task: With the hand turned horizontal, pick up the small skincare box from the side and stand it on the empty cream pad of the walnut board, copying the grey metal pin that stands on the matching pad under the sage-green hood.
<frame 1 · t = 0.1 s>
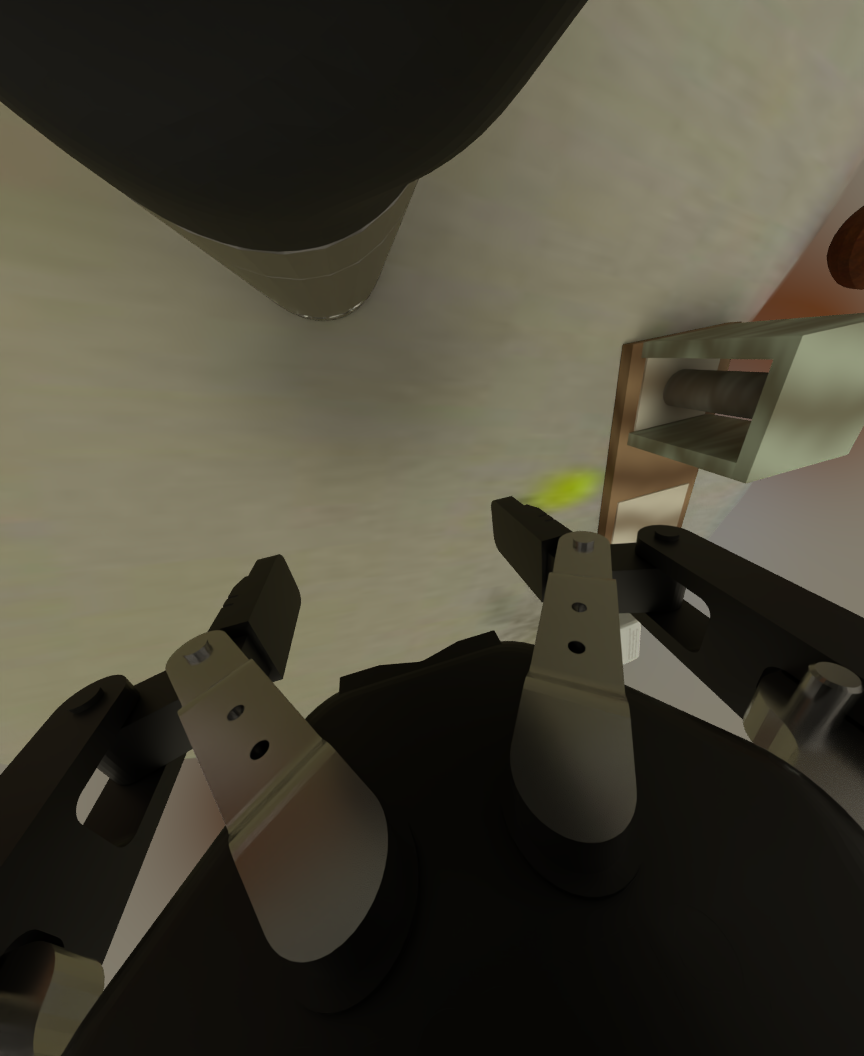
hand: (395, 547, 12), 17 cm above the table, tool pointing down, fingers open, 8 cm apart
potato: (841, 249, 28), on the table
board: (648, 468, 35), on the table
skincare box: (550, 570, 39), on the table
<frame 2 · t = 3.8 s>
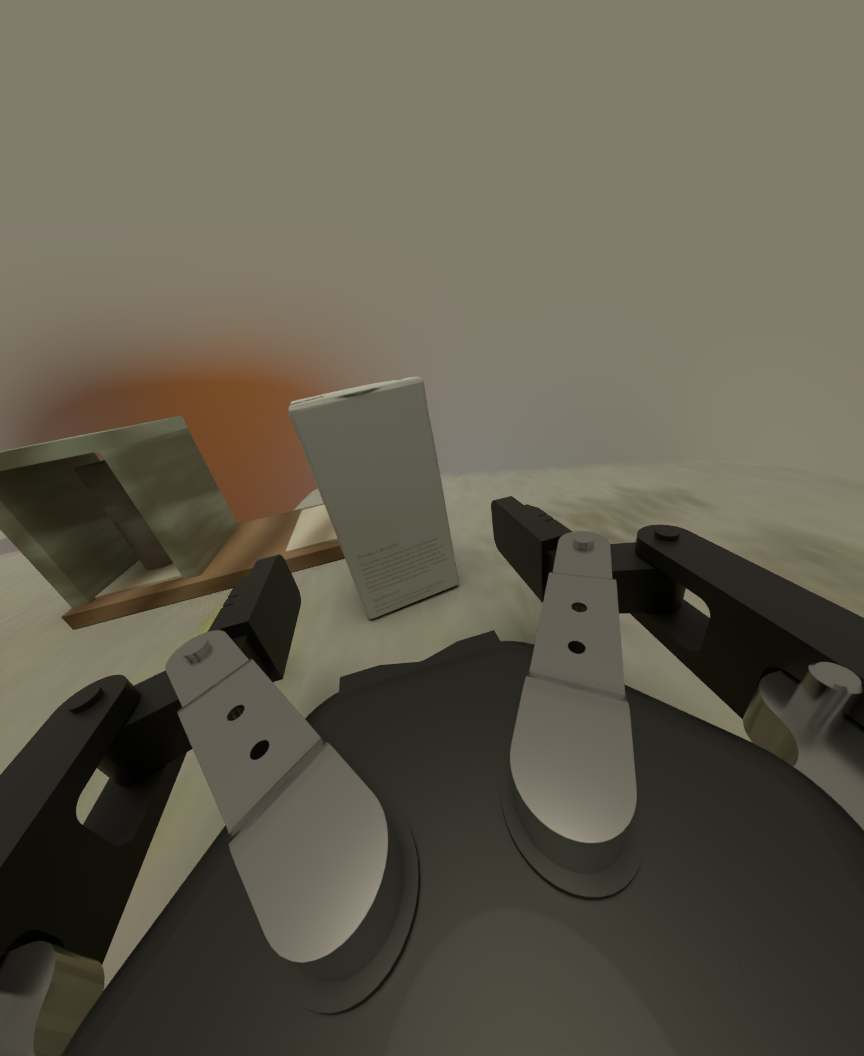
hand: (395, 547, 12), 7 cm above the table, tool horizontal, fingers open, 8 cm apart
board: (273, 547, 29), on the table
skincare box: (406, 590, 20), on the table
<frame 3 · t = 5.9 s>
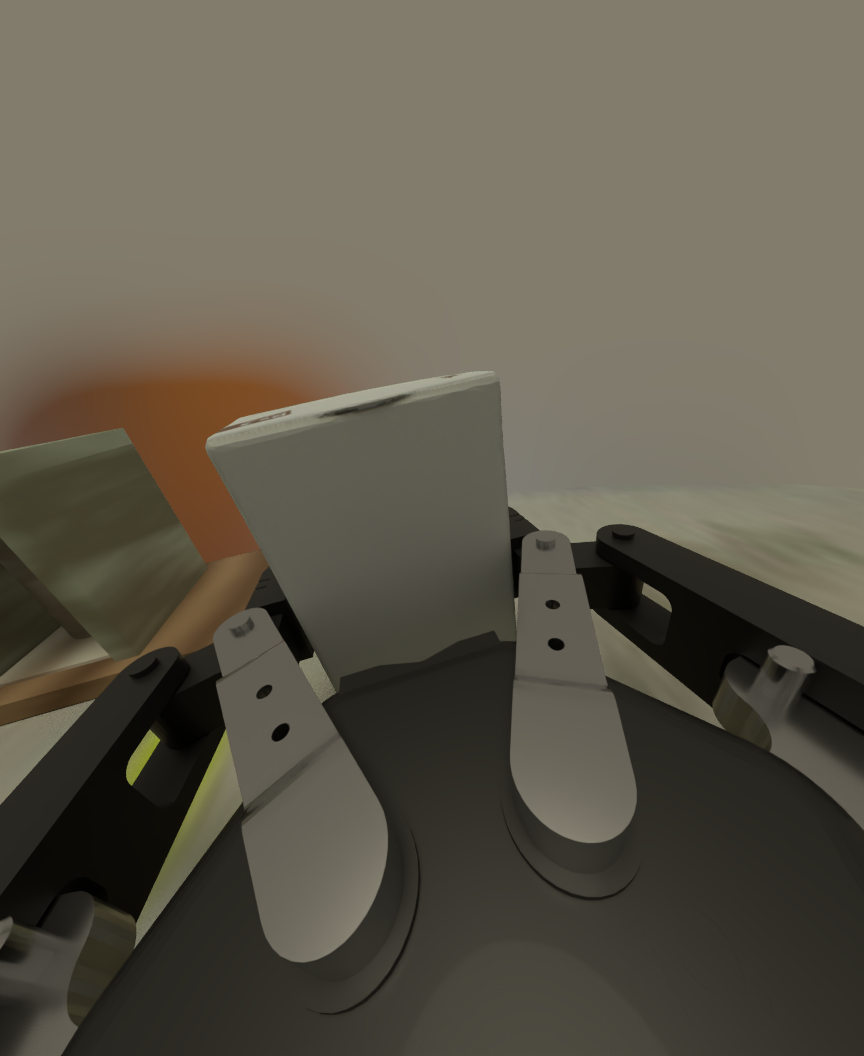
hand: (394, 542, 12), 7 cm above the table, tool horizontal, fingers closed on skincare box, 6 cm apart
board: (248, 600, 22), on the table
skincare box: (435, 701, 13), on the table, touching gripper
when the fingers open (9 cm above the table, at t = 10.9 s): skincare box stays where it is, resting on board.
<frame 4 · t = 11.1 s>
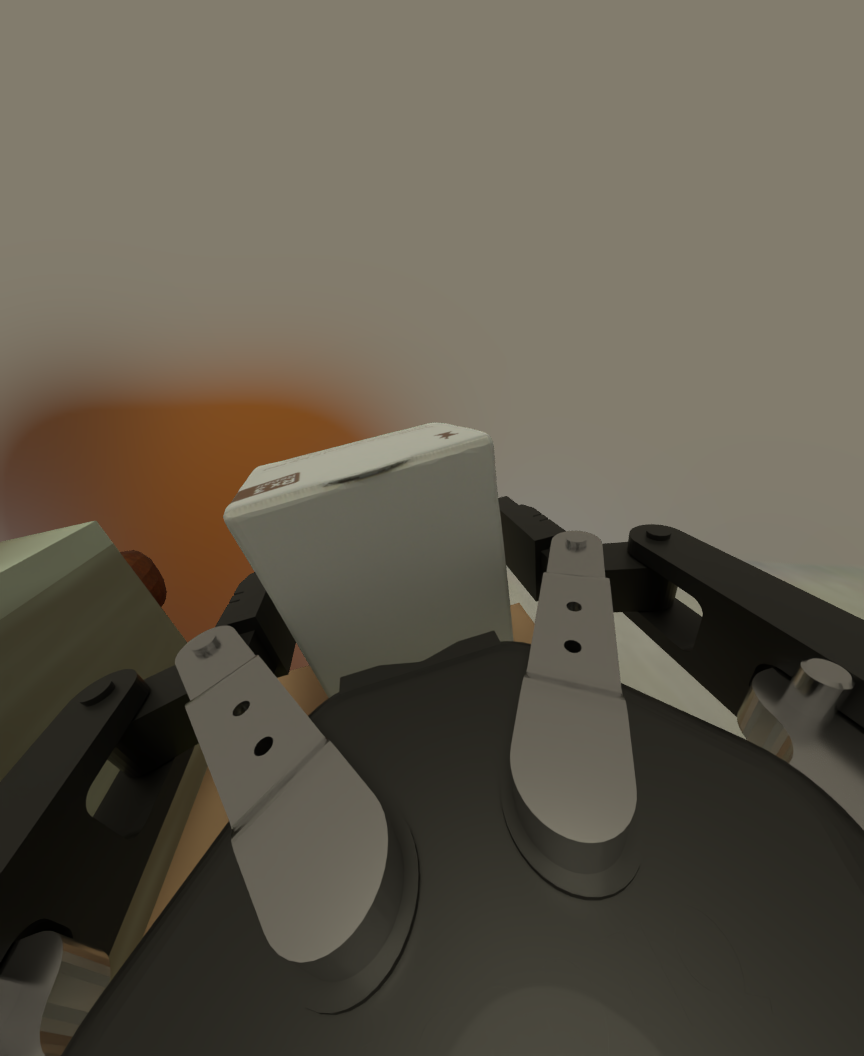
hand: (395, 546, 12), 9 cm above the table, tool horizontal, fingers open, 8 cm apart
potato: (130, 632, 26), on the table
board: (303, 784, 14), on the table
skincare box: (439, 723, 14), point 1 cm above the table, touching board
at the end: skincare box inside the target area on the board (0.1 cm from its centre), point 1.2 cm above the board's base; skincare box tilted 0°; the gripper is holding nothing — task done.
